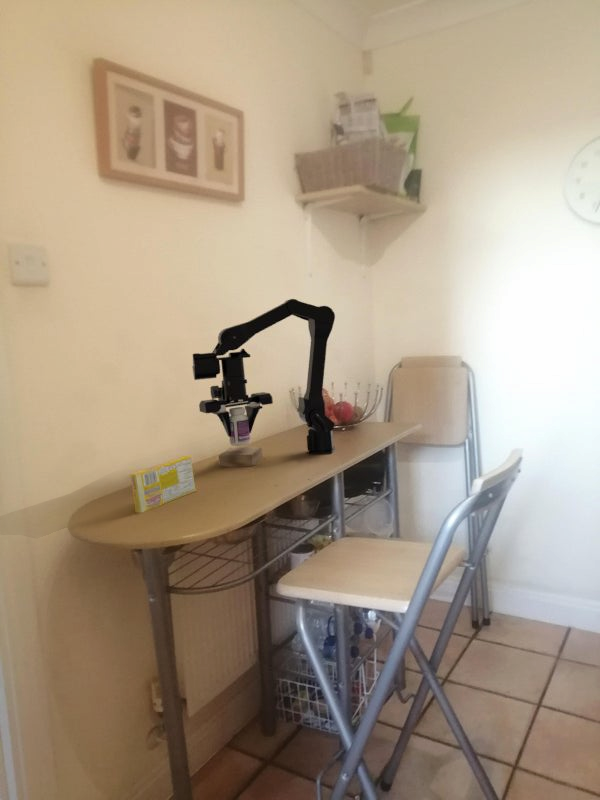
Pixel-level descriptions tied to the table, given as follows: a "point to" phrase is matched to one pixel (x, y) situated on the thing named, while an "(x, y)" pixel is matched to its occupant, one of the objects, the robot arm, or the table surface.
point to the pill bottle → (239, 427)
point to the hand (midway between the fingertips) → (239, 434)
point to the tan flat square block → (240, 456)
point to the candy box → (162, 483)
